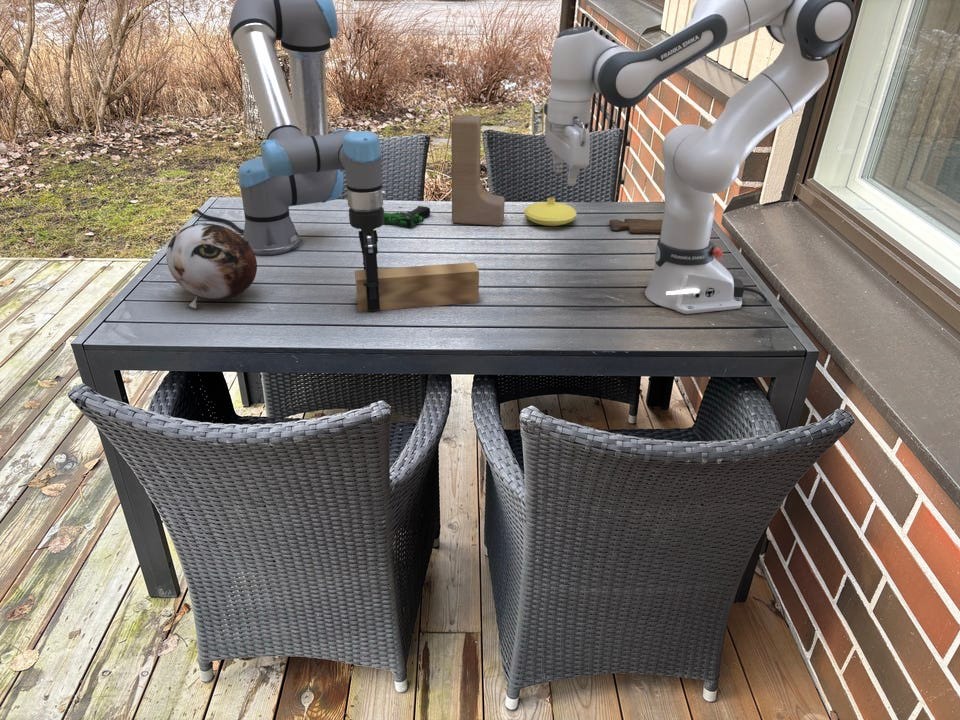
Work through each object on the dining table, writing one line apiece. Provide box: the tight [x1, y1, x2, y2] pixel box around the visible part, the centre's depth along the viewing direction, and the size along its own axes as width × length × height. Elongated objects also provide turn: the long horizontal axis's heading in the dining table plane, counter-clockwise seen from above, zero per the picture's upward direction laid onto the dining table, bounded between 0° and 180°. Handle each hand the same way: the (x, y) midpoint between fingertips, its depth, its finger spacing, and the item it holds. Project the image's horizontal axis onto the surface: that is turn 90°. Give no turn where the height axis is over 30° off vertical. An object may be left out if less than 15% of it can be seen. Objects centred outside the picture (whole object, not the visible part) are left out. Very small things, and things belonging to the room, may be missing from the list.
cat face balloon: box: [165, 222, 258, 309], centre depth 165 cm, size 22×18×20 cm
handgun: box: [384, 205, 431, 229], centre depth 216 cm, size 16×3×15 cm
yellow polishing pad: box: [523, 197, 578, 227], centre depth 214 cm, size 16×16×7 cm
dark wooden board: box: [608, 218, 663, 234], centre depth 212 cm, size 26×2×10 cm
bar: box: [354, 261, 480, 313], centre depth 166 cm, size 28×5×8 cm, turn 102°
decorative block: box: [450, 114, 506, 227], centre depth 208 cm, size 8×15×30 cm, turn 82°
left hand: (372, 303), depth 166 cm, fingers closed on bar, 5 cm apart
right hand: (564, 178), depth 156 cm, fingers open, 8 cm apart
